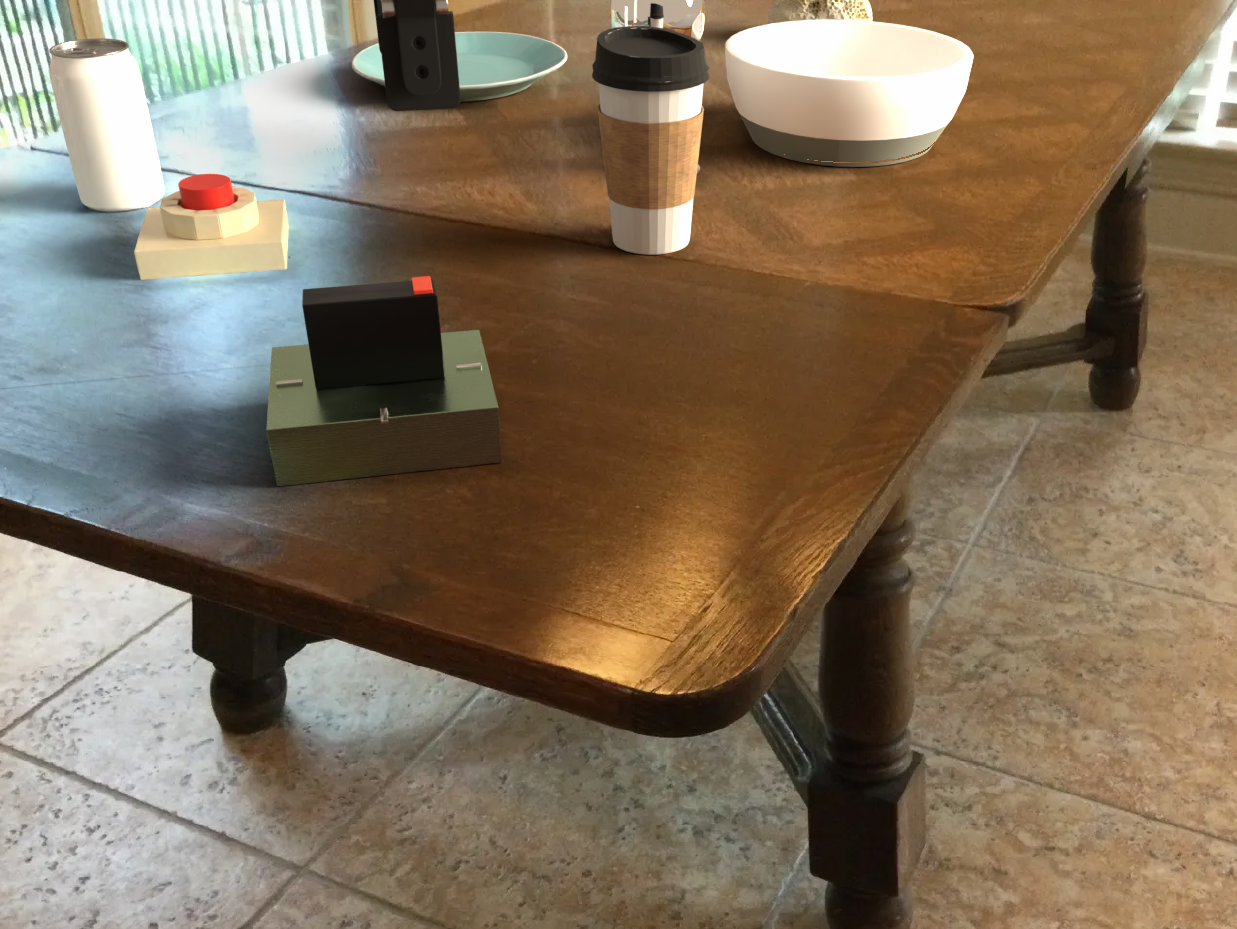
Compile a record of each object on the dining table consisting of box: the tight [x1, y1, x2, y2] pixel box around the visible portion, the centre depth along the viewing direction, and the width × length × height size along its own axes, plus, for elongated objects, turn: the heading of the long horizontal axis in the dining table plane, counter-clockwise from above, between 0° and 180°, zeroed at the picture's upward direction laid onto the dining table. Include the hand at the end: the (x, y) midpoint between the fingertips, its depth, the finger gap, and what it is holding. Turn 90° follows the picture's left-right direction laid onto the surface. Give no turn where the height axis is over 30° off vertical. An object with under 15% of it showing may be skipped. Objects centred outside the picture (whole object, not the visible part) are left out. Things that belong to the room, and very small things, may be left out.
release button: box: [177, 173, 235, 211], centre depth 94 cm, size 4×4×2 cm
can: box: [48, 37, 166, 213], centre depth 102 cm, size 6×6×12 cm
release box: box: [133, 185, 290, 281], centre depth 96 cm, size 10×9×4 cm
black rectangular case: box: [301, 275, 445, 389], centre depth 71 cm, size 7×2×5 cm, turn 104°
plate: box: [351, 31, 568, 103], centre depth 136 cm, size 22×22×3 cm
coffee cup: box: [591, 26, 710, 256], centre depth 96 cm, size 8×8×15 cm
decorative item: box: [767, 0, 873, 24], centre depth 154 cm, size 12×9×10 cm
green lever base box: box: [265, 329, 503, 487], centre depth 74 cm, size 12×11×4 cm
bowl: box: [724, 20, 974, 168], centre depth 120 cm, size 22×22×8 cm
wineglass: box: [609, 0, 706, 178], centre depth 108 cm, size 8×8×20 cm
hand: (418, 79), depth 62 cm, fingers open, 9 cm apart
